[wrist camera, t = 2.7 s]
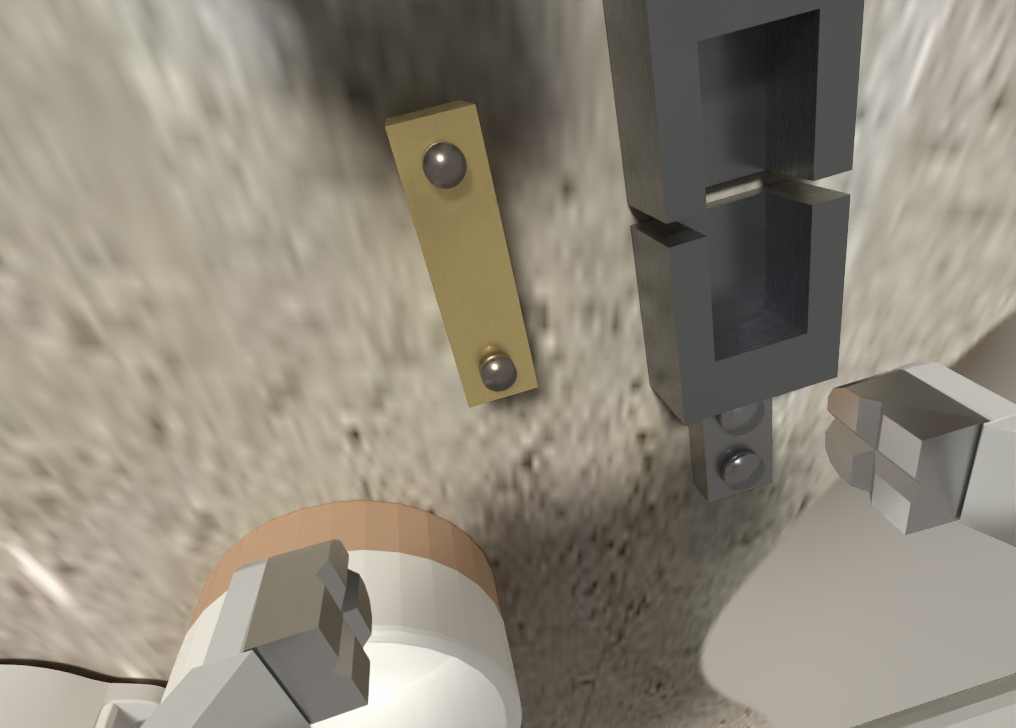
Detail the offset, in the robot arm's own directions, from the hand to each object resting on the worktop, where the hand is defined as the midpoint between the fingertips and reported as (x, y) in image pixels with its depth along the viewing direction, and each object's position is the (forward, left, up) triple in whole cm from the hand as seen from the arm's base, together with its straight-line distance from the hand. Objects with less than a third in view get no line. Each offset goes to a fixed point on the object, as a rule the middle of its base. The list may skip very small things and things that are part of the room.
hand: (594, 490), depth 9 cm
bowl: (-20, +12, -18) cm, 30 cm away
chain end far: (-6, -12, -18) cm, 22 cm away
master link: (0, 0, -18) cm, 18 cm away
